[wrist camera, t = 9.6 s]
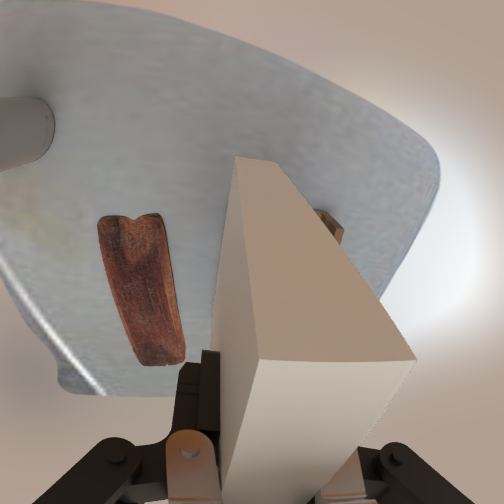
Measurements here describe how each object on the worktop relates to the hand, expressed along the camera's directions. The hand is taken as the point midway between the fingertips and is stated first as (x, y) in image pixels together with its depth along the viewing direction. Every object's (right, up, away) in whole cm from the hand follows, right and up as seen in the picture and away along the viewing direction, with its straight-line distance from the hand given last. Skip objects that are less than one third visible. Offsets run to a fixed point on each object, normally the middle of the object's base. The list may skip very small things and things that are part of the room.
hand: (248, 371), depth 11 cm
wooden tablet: (-16, -2, +35) cm, 38 cm away
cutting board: (-1, +5, +9) cm, 10 cm away
